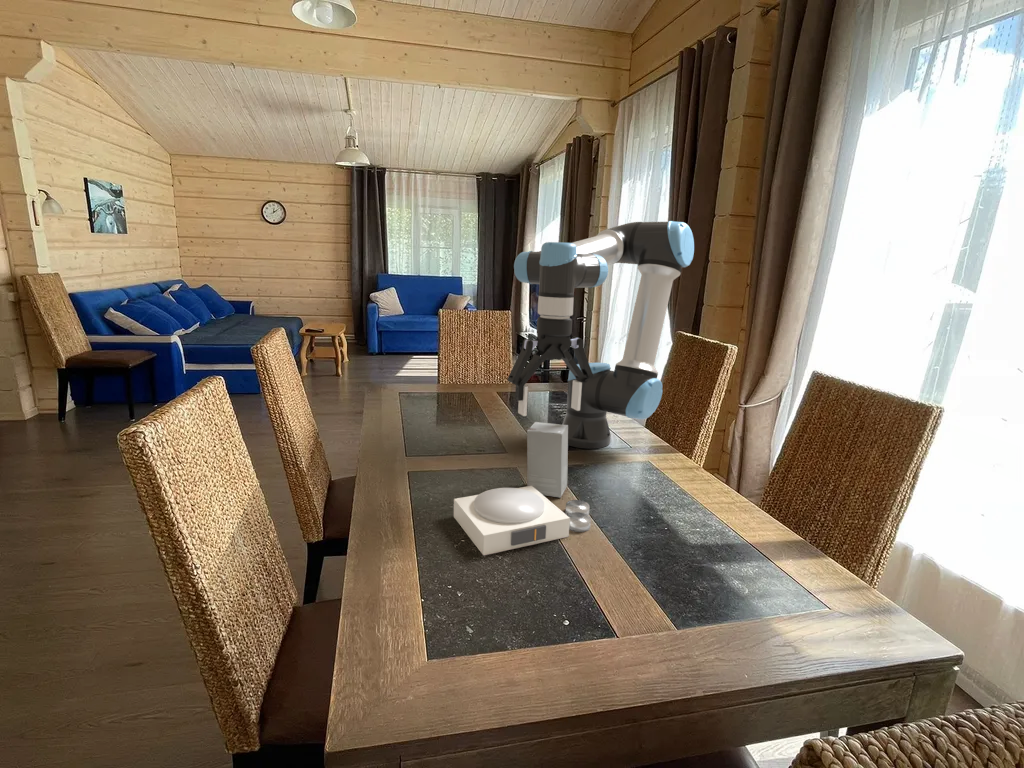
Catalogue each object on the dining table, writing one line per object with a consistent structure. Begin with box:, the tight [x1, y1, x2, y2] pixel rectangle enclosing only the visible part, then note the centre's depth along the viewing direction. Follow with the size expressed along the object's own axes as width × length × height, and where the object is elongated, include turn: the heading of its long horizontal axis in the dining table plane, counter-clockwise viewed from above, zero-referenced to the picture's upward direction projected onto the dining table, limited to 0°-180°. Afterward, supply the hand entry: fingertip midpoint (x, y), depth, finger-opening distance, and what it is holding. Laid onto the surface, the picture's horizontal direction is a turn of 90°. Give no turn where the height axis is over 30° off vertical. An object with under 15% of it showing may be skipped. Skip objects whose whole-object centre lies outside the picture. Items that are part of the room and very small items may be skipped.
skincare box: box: [526, 421, 569, 498], centre depth 124 cm, size 8×7×16 cm
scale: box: [453, 486, 570, 556], centre depth 109 cm, size 18×17×5 cm
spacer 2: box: [566, 512, 592, 533], centre depth 110 cm, size 5×5×2 cm
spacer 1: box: [565, 499, 591, 516], centre depth 116 cm, size 5×5×2 cm
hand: (549, 411), depth 122 cm, fingers open, 13 cm apart
